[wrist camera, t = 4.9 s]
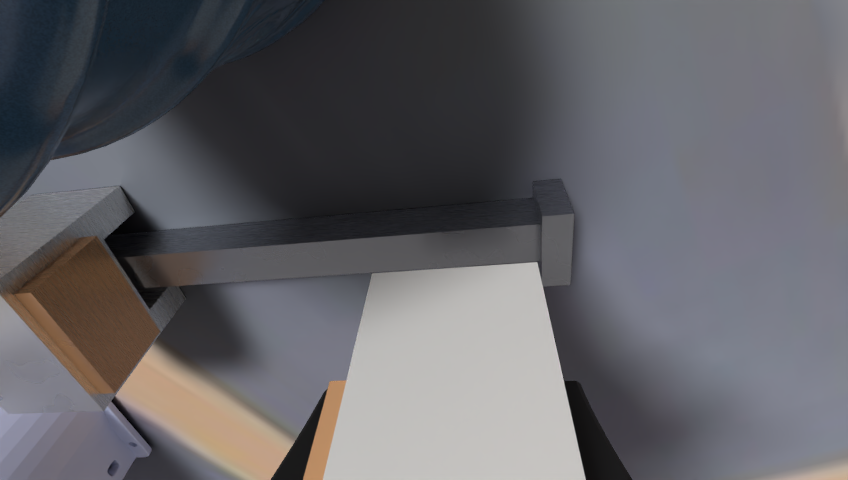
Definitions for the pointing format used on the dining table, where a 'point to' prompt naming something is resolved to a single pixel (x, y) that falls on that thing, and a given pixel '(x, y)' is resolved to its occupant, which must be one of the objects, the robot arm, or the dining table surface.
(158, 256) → the grey and white bar
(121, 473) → the robot arm
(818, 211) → the dining table surface
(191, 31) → the canister
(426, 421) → the white cube orange side
